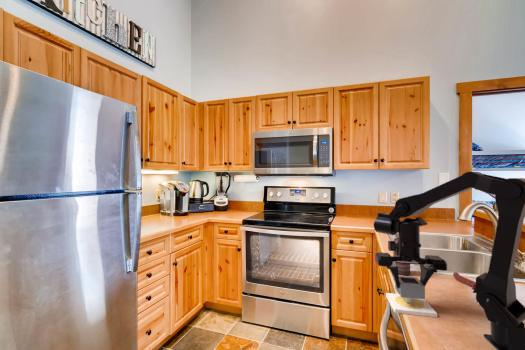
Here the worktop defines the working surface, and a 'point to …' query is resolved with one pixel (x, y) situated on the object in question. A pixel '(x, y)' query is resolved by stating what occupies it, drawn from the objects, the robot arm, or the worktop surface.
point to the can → (402, 264)
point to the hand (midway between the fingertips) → (409, 288)
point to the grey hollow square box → (411, 288)
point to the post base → (410, 305)
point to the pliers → (464, 280)
